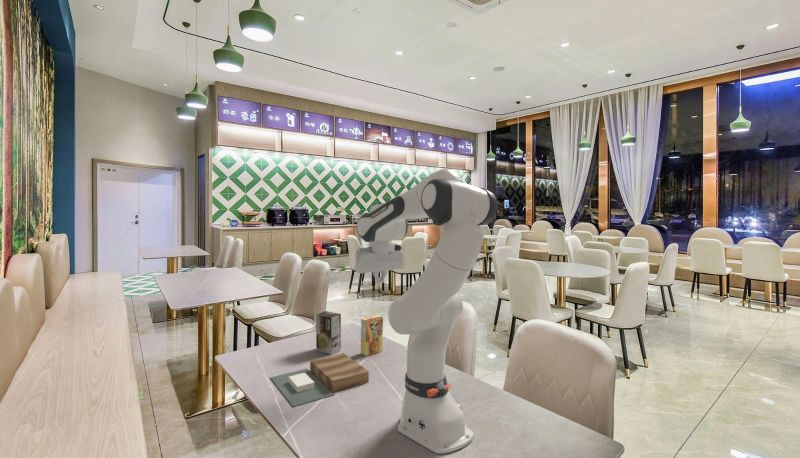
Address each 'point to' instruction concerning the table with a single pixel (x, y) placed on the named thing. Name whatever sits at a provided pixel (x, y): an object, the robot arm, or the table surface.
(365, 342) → the candy box
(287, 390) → the mat
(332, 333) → the coffee box
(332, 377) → the block
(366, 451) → the table surface
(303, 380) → the white box
